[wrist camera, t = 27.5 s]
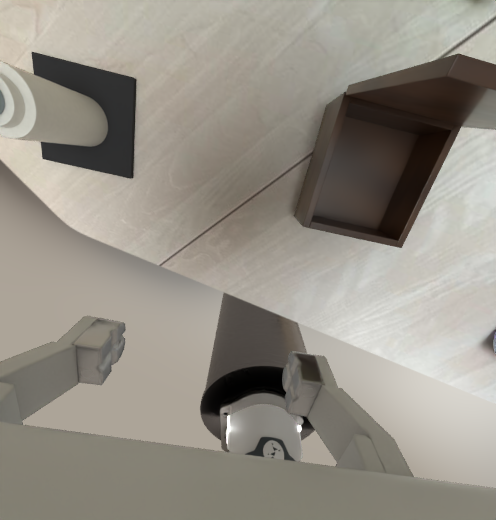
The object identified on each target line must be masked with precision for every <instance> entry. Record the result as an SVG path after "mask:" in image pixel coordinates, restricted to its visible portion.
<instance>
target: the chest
mask: <svg viewBox="0 0 496 520" xmlns="http://www.w3.org/2000/svg"><path fill="white" fill-rule="evenodd" d="M345 94H346V92H344V93H343V94H341V95H340V96H339V97H337V98H336V99H335V100H333V101H332V102H330V103H329V104H328V105H327V106H326V109H325V113H324V116H323V119H322V123H321V126H320V130H319V133H318V136H317V140H316V143H315V147H314V150H313V153H312V157H311V160H310V164H309V167H308V170H307V174H306V177H305V181H304V184H303V187H302V191H301V194H300V198H299V201H298V204H297V208H296V211H295V215H294V217H295V218H296V219H297V220H298V221H299V222H300V224H301V225H302V226H303V227H308V228H312V229H317V230H321V231H326V232H331V233H335V234H340V235H344V236H349V237H353V238H358V239H363V240H367V241H372V242H376V243H381V244H386V245H390V246H395V247H399V248H402V246H403V244H404V242H405V240H406V238H407V236H408V234H409V232H410V230H411V228H412V226H413V224H414V222H415V220H416V218H417V216H418V213H419V211H420V209H421V207H422V205H423V203H424V201H425V199H426V197H427V195H428V193H429V191H430V189H431V187H432V185H433V183H434V181H435V179H436V177H437V175H438V173H439V171H440V169H441V167H442V165H443V163H444V161H445V159H446V157H447V155H448V153H449V151H450V149H451V147H452V145H453V142H454V140H455V138H456V136H457V134H458V132H459V130H460V128H461V126H458V125H454V124H451V123H447V122H443V121H440V120H436V119H432V118H428V117H425V116H421V115H417V114H414V113H410V112H406V111H402V110H399V109H395V108H391V107H388V106H384V105H380V104H376V103H373V102H369V101H365V100H362V99H358V98H354V97H350V96H347V95H345Z"/></svg>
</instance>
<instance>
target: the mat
mask: <svg viewBox="0 0 496 520" xmlns="http://www.w3.org/2000/svg"><path fill="white" fill-rule="evenodd" d="M32 59H33V69H34V75H36V76H39V77H41V78H44V79H46V80H49V81H51V82H53V83H56V84H58V85H61V86H63V87H66V88H68V89H70V90H73V91H75V92H78V93H80V94H83V95H85V96H87V97H90V98H91V99H93V100H94V101H95V102H97V103H98V104H99V106H100V107H101V108H102V110H103V111H104V113H105V115H106V118H107V122H108V132H107V135H106V138H105V139H104V141H103V142H102V143H100V144H99V145H97V146H92V147H89V146H79V145H69V144H59V143H49V142H41V147H42V157H43V159H46V160H50V161H55V162H59V163H64V164H68V165H73V166H77V167H82V168H86V169H91V170H95V171H100V172H104V173H109V174H113V175H118V176H122V177H127V178H133V161H134V129H135V98H136V79H135V78H132V77H128V76H124V75H120V74H117V73H113V72H109V71H105V70H101V69H97V68H93V67H89V66H85V65H81V64H77V63H74V62H70V61H66V60H62V59H58V58H54V57H50V56H46V55H42V54H38V53H34V52H32Z"/></svg>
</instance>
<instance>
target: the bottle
mask: <svg viewBox="0 0 496 520" xmlns="http://www.w3.org/2000/svg"><path fill="white" fill-rule="evenodd" d="M107 132H108V122H107V118H106V115H105V113H104V111H103V110H102V108H101V107H100V106H99V104H98V103H97V102H95V101H94V100H93V99H91V98H90V97H87V96H85V95H83V94H80V93H78V92H75V91H73V90H70V89H68V88H66V87H63V86H61V85H58V84H56V83H53V82H51V81H49V80H46V79H44V78H41V77H39V76H36V75H34V74H32V73H29V72H27V71H24V70H22V69H19V68H17V67H15V66H12V65H10V64H7V63H5V62H2V61H0V136H1V137H5V138H10V139H19V140H29V141H39V142H49V143H59V144H69V145H79V146H89V147H92V146H97V145H99V144H100V143H102V142H103V141H104V139H105V138H106V135H107Z"/></svg>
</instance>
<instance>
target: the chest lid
mask: <svg viewBox="0 0 496 520" xmlns="http://www.w3.org/2000/svg"><path fill="white" fill-rule="evenodd" d="M345 95H347V96H350V97H354V98H358V99H362V100H365V101H369V102H373V103H376V104H380V105H384V106H388V107H391V108H395V109H399V110H402V111H406V112H410V113H414V114H417V115H421V116H425V117H428V118H432V119H436V120H440V121H443V122H447V123H451V124H454V125H458V126H462V127H469V128H482V129H495V130H496V65H495V64H492V63H488V62H485V61H482V60H478V59H475V58H472V57H468V56H465V55H461V54H456V55H452V56H449V57H445V58H442V59H438V60H435V61H431V62H428V63H424V64H421V65H418V66H414V67H411V68H407V69H404V70H400V71H397V72H393V73H390V74H386V75H383V76H379V77H376V78H372V79H369V80H365V81H362V82H358V83H355V84H351V85H349V86H348V89H347V91H346V94H345Z"/></svg>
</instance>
